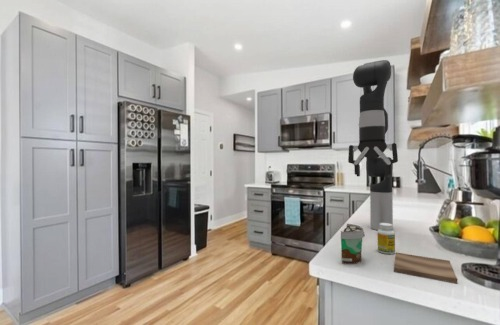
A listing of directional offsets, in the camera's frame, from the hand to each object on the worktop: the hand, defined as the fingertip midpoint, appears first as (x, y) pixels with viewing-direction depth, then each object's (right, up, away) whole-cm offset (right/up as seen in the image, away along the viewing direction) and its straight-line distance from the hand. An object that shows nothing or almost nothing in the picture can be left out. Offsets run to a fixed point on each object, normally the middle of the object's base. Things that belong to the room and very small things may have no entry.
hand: (372, 176), depth 82 cm
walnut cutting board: (+11, -26, -8) cm, 29 cm away
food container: (-6, -27, -1) cm, 27 cm away
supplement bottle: (+8, -27, +6) cm, 28 cm away
